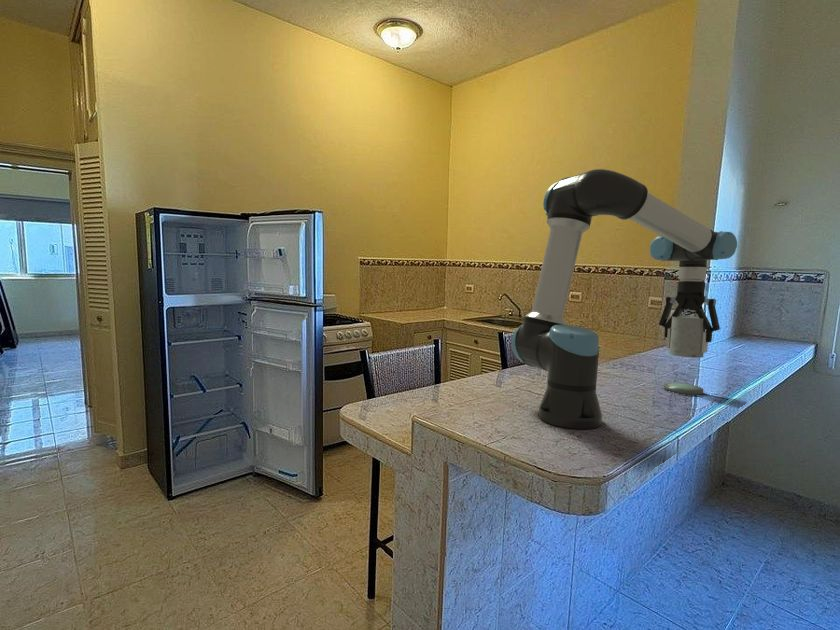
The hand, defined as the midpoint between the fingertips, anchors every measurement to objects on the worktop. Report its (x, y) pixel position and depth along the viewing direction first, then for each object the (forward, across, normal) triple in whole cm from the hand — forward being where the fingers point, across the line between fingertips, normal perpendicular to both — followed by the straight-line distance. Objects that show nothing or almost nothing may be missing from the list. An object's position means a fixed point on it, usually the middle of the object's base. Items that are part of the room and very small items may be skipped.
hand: (686, 350), depth 141 cm
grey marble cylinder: (+2, 0, 0) cm, 2 cm away
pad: (+14, 0, 0) cm, 14 cm away
